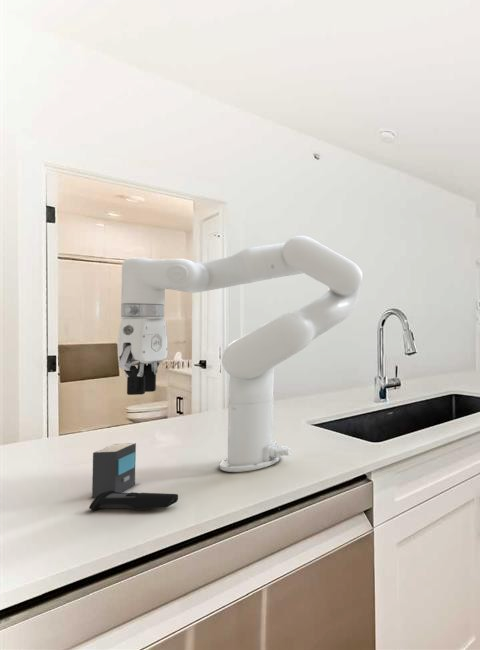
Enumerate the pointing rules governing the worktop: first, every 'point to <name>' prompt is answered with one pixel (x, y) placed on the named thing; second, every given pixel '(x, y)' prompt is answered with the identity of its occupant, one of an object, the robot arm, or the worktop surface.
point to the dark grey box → (114, 468)
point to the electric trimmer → (133, 500)
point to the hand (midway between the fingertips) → (141, 392)
